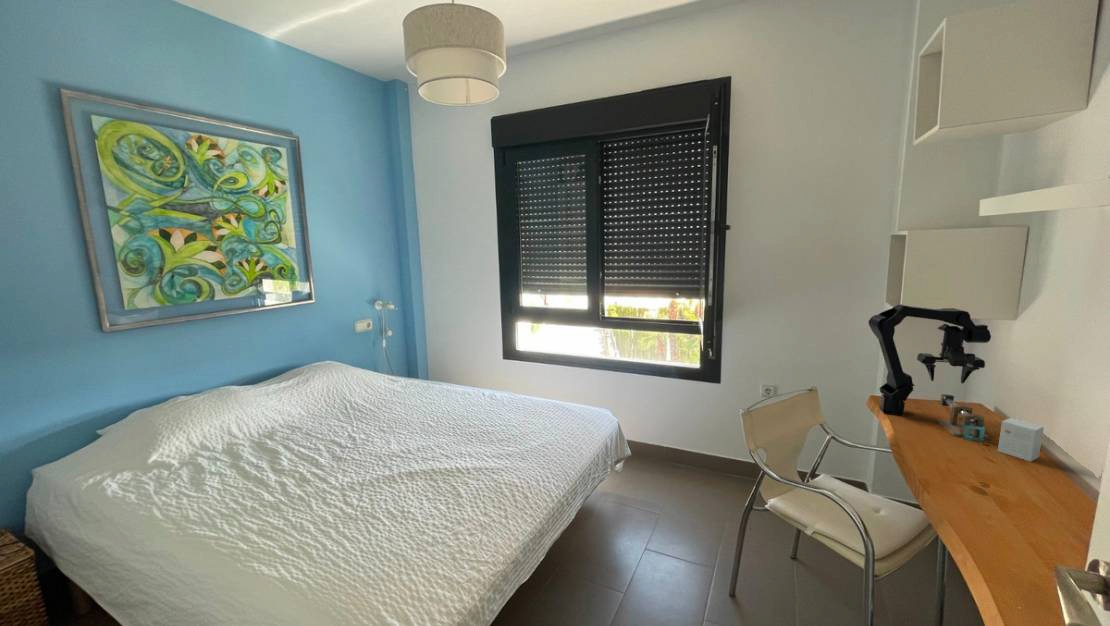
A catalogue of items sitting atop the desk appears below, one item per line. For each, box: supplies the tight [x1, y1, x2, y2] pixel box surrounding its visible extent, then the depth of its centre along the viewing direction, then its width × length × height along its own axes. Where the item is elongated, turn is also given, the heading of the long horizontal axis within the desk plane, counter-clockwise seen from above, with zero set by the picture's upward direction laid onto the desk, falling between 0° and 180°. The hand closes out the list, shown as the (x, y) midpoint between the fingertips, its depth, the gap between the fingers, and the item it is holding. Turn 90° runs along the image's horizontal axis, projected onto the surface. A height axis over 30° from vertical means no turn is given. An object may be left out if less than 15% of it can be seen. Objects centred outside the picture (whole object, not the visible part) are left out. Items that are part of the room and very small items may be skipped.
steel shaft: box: [940, 393, 977, 425], centre depth 162 cm, size 3×21×4 cm, turn 159°
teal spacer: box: [962, 424, 986, 442], centre depth 152 cm, size 5×1×5 cm, turn 69°
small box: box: [997, 417, 1045, 463], centre depth 141 cm, size 8×6×10 cm
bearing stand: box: [937, 404, 991, 441], centre depth 158 cm, size 10×13×8 cm
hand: (946, 382), depth 170 cm, fingers open, 9 cm apart
